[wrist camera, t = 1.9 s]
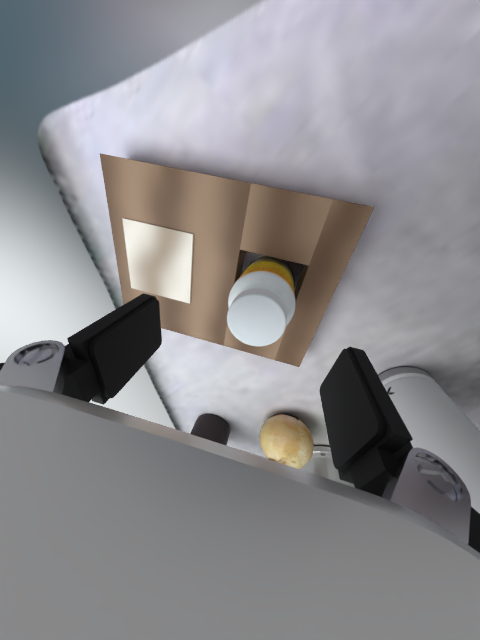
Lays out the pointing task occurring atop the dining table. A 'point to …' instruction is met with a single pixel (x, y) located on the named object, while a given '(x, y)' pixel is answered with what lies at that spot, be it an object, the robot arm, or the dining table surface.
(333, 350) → the dining table surface
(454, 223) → the dining table surface
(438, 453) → the travel mug
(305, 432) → the onion
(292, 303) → the supplement bottle
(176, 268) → the socket board
